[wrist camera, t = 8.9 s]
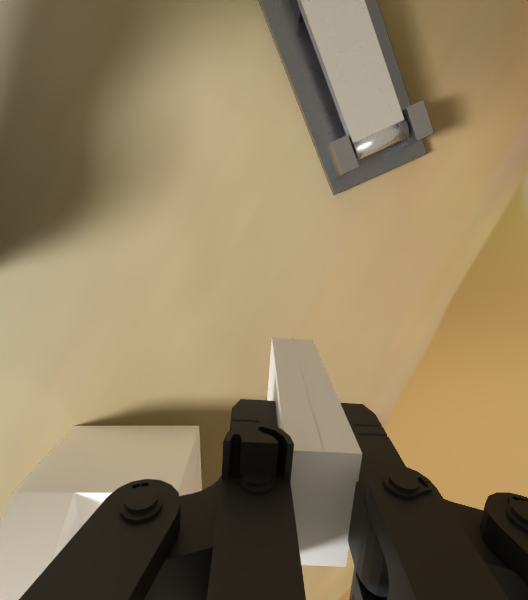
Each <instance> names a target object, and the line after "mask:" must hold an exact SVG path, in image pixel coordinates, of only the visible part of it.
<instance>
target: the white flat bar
mask: <svg viewBox="0 0 528 600" xmlns="http://www.w3.org/2000/svg"><path fill="white" fill-rule="evenodd" d="M297 2H298V5H299V8H300V11H301V13H302V16H303V19H304V22H305V24H306V27H307V30H308V32H309V35H310V38H311V41H312V43H313V46H314V49H315V51H316V54H317V57H318V60H319V62H320V65H321V68H322V71H323V73H324V76H325V79H326V81H327V84H328V87H329V90H330V92H331V95H332V98H333V101H334V103H335V106H336V109H337V111H338V114H339V117H340V120H341V122H342V125H343V128H344V130H345V133H346V135H348V137H349V140H350V143H351V145H352V148H353V151H354V154H355V156H356V159H357V160H360V159H362V158H364V157H366V156H368V155H371V154H373V153H375V152H377V151H379V150H382V149H384V148H386V147H388V146H391V145H393V144H395V143H397V142H399V141H402V140H404V139H406V138H408V137H409V127H408V124H407V122H406V121H405V120H404V117H403V114H402V111H401V108H400V105H399V102H398V99H397V96H396V93H395V90H394V87H393V84H392V81H391V78H390V75H389V72H388V69H387V66H386V63H385V60H384V57H383V54H382V51H381V48H380V45H379V42H378V39H377V36H376V33H375V30H374V27H373V24H372V21H371V18H370V15H369V12H368V9H367V6H366V3H365V0H297Z"/></svg>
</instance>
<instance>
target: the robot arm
mask: <svg viewBox="0 0 528 600" xmlns="http://www.w3.org/2000/svg"><path fill="white" fill-rule="evenodd" d="M349 547H350V550H351V554H352V558H353V561H354V565H355V566H354V573H353V580H352V586H351V593H350V600H528V498H527V497H524V496H521V495H517V494H512V493H495V494H492V495H490V496H488V499H487V501H486V503H485V507H484V511H483V510H479V509H476V508H472V507H468V506H465V505H461V504H457V503H454V502H451V501H448V500H445V499H443V497H442V496H441V494H440V493H439V491H438V490H437V488H436V487H435V486H434V485H433V484H432V483H431V481H430V480H429V479H428V478H426V477H425V476H423V475H422V474H420V473H419V472H417V471H415V470H412V469H410V468H407V467H406V466H405V464H404V463H403V461H402V460H401V458H400V456H399V454H398V452H397V451H396V449H395V447H394V446H393V444H392V442H391V441H390V439H389V437H387V434H386V432H385V430H384V428H383V427H382V425H381V423H380V422H379V420H378V418H377V417H376V415H375V414H374V413H373V412H372V411H371V410H369V409H368V408H367V407H365V406H364V405H363V404H349V403H340V401H339V399H338V397H337V394H336V392H335V390H334V388H333V385H332V383H331V381H330V378H329V376H328V374H327V372H326V369H325V367H324V365H323V362H322V360H321V358H320V356H319V353H318V351H317V349H316V346H315V344H314V342H313V340H300V339H283V338H272V344H271V358H270V371H269V384H268V397H267V401H265V400H246V399H240V401H239V402H238V403H237V404H236V405H235V406H234V407H233V408H232V415H231V423H230V431H229V432H228V433H227V435H226V437H225V439H224V442H223V463H222V476H221V477H220V479H219V480H218V481H217V482H215V483H214V484H213V485H212V486H210V487H208V488H206V489H204V490H202V491H199V492H195V493H192V494H187V495H182V496H179V492H178V491H177V490H176V489H175V488H174V487H173V486H172V485H171V484H169V483H166V482H164V481H162V480H155V479H143V480H138V481H132V482H130V483H128V484H126V485H123V486H121V487H119V488H117V489H116V490H115V491H114V492H113V493H112V494H110V495H109V496H108V497H107V498H106V499H105V500H104V501H103V503H102V504H101V505H100V506H99V507H98V508H97V509H96V511H95V512H94V513H93V514H92V515H91V516H90V518H89V519H88V520H87V521H86V522H85V523H84V525H83V526H82V527H81V528H80V529H79V530H78V532H77V533H76V534H75V535H74V536H73V537H72V539H71V540H70V541H69V542H68V543H67V544H66V545H65V547H64V548H63V549H62V550H61V551H60V552H59V554H58V555H57V556H56V557H55V558H54V559H53V561H52V562H51V563H50V564H49V565H48V566H47V568H46V569H45V570H44V571H43V572H42V573H41V574H40V576H39V577H38V578H37V579H36V580H35V581H34V583H33V584H32V585H31V586H30V587H29V588H28V590H27V591H26V592H25V593H24V594H23V595H22V597H21V598H20V599H19V600H306V597H305V590H304V582H303V574H302V567H301V565H314V566H342V567H346V563H347V556H348V549H349Z"/></svg>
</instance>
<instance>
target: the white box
mask: <svg viewBox="0 0 528 600" xmlns="http://www.w3.org/2000/svg"><path fill="white" fill-rule="evenodd" d="M143 479H155V480H162V481H164V482H166V483H169V484H171V485H172V486H173V487H174V488H175V489H176V490H177V491H178V492H179V496H182V495H187V494H192V493H195V492H199V491H202V477H201V455H200V432H199V426H73V428H72V429H71V430H70V431H69V432H68V433H67V434H66V435H65V436H64V437H63V438H62V440H61V441H60V442H59V443H58V444H57V445H56V446H55V447H54V448H53V449H52V450H51V452H50V453H49V454H48V455H47V456H46V457H45V458H44V459H43V460H42V461H41V462H40V463H39V465H38V466H37V467H36V468H35V469H34V470H33V471H32V472H31V473H30V474H29V475H28V477H27V478H26V479H25V480H24V481H23V482H22V483H21V484H20V485H19V486H18V487H17V488H16V490H15V491H14V492H13V493H12V495H11V498H10V500H9V502H8V504H7V507H6V509H5V511H4V513H3V516H2V518H1V520H0V600H19V599H20V598H21V597H22V595H23V594H24V593H25V592H26V591H27V590H28V588H29V587H30V586H31V585H32V584H33V583H34V581H35V580H36V579H37V578H38V577H39V576H40V574H41V573H42V572H43V571H44V570H45V569H46V568H47V566H48V565H49V564H50V563H51V562H52V561H53V559H54V558H55V557H56V556H57V555H58V554H59V552H60V551H61V550H62V549H63V548H64V547H65V545H66V544H67V543H68V542H69V541H70V540H71V539H72V537H73V536H74V535H75V534H76V533H77V532H78V530H79V529H80V528H81V527H82V526H83V525H84V523H85V522H86V521H87V520H88V519H89V518H90V516H91V515H92V514H93V513H94V512H95V511H96V509H97V508H98V507H99V506H100V505H101V504H102V503H103V501H104V500H105V499H106V498H107V497H108V496H109V495H110V494H112V493H113V492H114V491H115V490H116V489H117V488H119V487H121V486H123V485H126V484H128V483H130V482H132V481H138V480H143Z"/></svg>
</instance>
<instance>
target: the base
mask: <svg viewBox="0 0 528 600" xmlns="http://www.w3.org/2000/svg"><path fill="white" fill-rule="evenodd" d="M258 1H259V3H260V6H261V8H262V11H263V14H264V16H265V19H266V21H267V24H268V27H269V29H270V32H271V34H272V37H273V40H274V42H275V45H276V47H277V50H278V53H279V55H280V58H281V60H282V63H283V66H284V68H285V71H286V73H287V76H288V79H289V81H290V84H291V86H292V89H293V92H294V94H295V97H296V99H297V102H298V105H299V107H300V110H301V112H302V115H303V118H304V120H305V123H306V125H307V128H308V131H309V133H310V136H311V138H312V141H313V144H314V146H315V149H316V151H317V154H318V157H319V159H320V162H321V164H322V167H323V170H324V172H325V175H326V177H327V180H328V183H329V185H330V188H331V190H332V193H333V195H335V194H337V193H340V192H342V191H344V190H346V189H349V188H351V187H353V186H355V185H358V184H360V183H362V182H364V181H366V180H369V179H371V178H373V177H375V176H378V175H380V174H382V173H384V172H387V171H389V170H391V169H393V168H396V167H398V166H400V165H402V164H404V163H407V162H409V161H411V160H413V159H416V158H418V157H420V156H422V155H425V154H427V153H426V150H425V147H424V144H423V141H422V139H423V138H425V137H427V136H429V135H431V134H433V133H434V132H433V129H432V126H431V123H430V119H429V116H428V113H427V110H426V107H425V104H424V101H423V100H422V101H420V102H417V103H415V104H413V105H411V104H410V101H409V98H408V95H407V92H406V88H405V85H404V82H403V79H402V76H401V73H400V70H399V67H398V64H397V61H396V58H395V55H394V52H393V49H392V45H391V42H390V39H389V36H388V33H387V30H386V27H385V24H384V21H383V18H382V15H381V12H380V9H379V6H378V2H377V0H365V3H366V6H367V9H368V12H369V15H370V18H371V21H372V24H373V27H374V30H375V33H376V36H377V39H378V42H379V45H380V48H381V51H382V54H383V57H384V60H385V63H386V66H387V69H388V72H389V75H390V78H391V81H392V84H393V87H394V90H395V93H396V96H397V99H398V102H399V105H400V108H401V111H402V114H403V117H404V120H405V121H406V122H407V124H408V127H409V137H408V138H406V139H404V140H402V141H399V142H397V143H395V144H393V145H391V146H388V147H386V148H384V149H382V150H379V151H377V152H375V153H373V154H371V155H368V156H366V157H364V158H362V159H360V160H357V159H356V156H355V154H354V151H353V148H352V145H351V143H350V140H349V137H348V135H346V133H345V130H344V128H343V125H342V122H341V120H340V117H339V114H338V111H337V109H336V106H335V103H334V101H333V98H332V95H331V92H330V90H329V87H328V84H327V81H326V79H325V76H324V73H323V71H322V68H321V65H320V62H319V60H318V57H317V54H316V51H315V49H314V46H313V43H312V41H311V38H310V35H309V32H308V30H307V27H306V24H305V22H304V19H303V16H302V13H301V11H300V8H299V5H298V2H297V0H258Z"/></svg>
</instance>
